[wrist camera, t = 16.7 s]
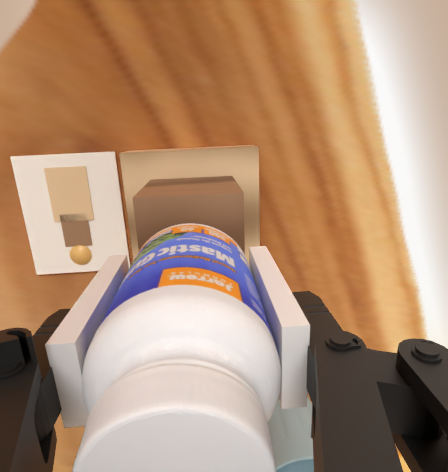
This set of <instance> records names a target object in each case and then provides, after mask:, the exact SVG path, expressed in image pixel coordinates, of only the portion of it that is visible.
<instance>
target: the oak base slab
mask: <svg viewBox="0 0 448 472" xmlns="http://www.w3.org/2000/svg"><path fill="white" fill-rule="evenodd" d="M119 155H120V163H121V170H122V178H123V185H124V193H125V201H126V208H127V216H128V223H129V231H130V238H131V246H132V254H133V260H134V258H135V256H136V255H137V253H138V252H139V249H138V241H137V232H136V224H135V216H134V207H133V199H132V198H133V197H134V196H135V195H136V194H137V193H138V192H139V191H140V190H141V189H142V188H143V187H144V186H145V185H146V184H147V183H148V182H149V181H150V180H151V179H173V178H195V177H217V176H233V178H234V179H235V181H236V182H237V183H238V185H239V186H240V188H241V189H242V191H243V192H244V236H245V256H246V259H247V261H248V264H249V266H250V263H249V247H256V246H260V213H259V147H258V146H255V145H240V146H219V147H198V148H177V149H156V150H135V151H126V152H122V153H119Z"/></svg>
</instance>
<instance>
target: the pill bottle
mask: <svg viewBox="0 0 448 472" xmlns="http://www.w3.org/2000/svg"><path fill="white" fill-rule="evenodd" d="M280 387H281V365H280V359H279V355H278V352H277V348H276V345H275V341H274V338H273V335H272V332H271V329H270V326H269V324H268V321H267V318H266V315H265V311H264V308H263V305H262V302H261V299H260V296H259V293H258V290H257V287H256V284H255V281H254V278H253V275H252V272H251V269H250V266H249V264H248V261H247V259H246V256H245V255H244V253H243V251H242V250H241V248H240V247H239V245H238V244H237V243H236V242H235V241H234V240H233V239H232V238H231V237H230V236H228V235H227V234H225V233H224V232H222V231H220V230H218V229H216V228H213V227H211V226H207V225H203V224H195V223H187V224H178V225H174V226H171V227H168V228H165V229H163V230H161V231H159V232H158V233H156V234H155V235H153V236H152V237H151V238H150V239H149V240H148V241H147V242H146V243H145V244H144V245H143V246H142V247H141V249H140V250H139V252H138V253H137V255H136V256H135V258H134V260H133V262H132V264H131V266H130V268H129V270H128V272H127V274H126V276H125V278H124V280H123V282H122V284H121V286H120V288H119V290H118V292H117V293H116V295H115V297H114V299H113V301H112V303H111V305H110V307H109V309H108V311H107V313H106V315H105V316H104V318H103V320H102V322H101V324H100V326H99V328H98V329H97V331H96V333H95V335H94V338H93V340H92V342H91V344H90V346H89V348H88V351H87V354H86V357H85V361H84V365H83V371H82V394H83V400H84V404H85V407H86V410H87V412H88V415H89V416H88V419H87V422H86V426H85V430H84V434H83V437H82V441H81V444H80V447H79V450H78V453H77V456H76V459H75V462H74V465H73V471H72V472H276V464H275V458H274V452H273V446H272V441H271V436H270V430H269V425H268V421H269V420H270V418H271V416H272V414H273V412H274V409H275V407H276V404H277V401H278V397H279V393H280Z"/></svg>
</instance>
